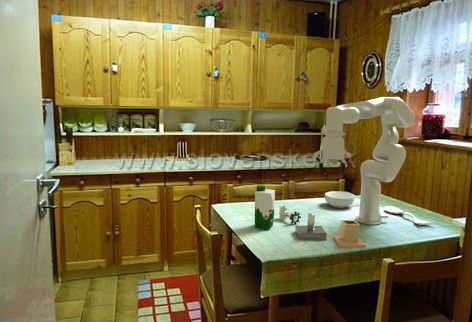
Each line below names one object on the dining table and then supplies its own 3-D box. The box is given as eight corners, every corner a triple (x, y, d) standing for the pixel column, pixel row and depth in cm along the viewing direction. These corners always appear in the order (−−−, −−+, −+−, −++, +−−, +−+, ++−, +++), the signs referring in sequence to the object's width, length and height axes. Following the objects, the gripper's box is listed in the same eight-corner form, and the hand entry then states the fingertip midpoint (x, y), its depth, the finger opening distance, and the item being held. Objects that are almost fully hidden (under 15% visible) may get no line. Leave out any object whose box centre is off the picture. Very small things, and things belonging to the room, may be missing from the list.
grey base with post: (320, 231, 178) (321, 211, 176) (326, 239, 168) (327, 217, 167) (295, 231, 178) (296, 210, 176) (299, 239, 168) (300, 217, 166)
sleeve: (353, 237, 168) (354, 220, 167) (358, 242, 162) (359, 224, 161) (340, 237, 168) (341, 220, 167) (344, 242, 162) (345, 224, 161)
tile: (356, 237, 171) (357, 235, 171) (365, 247, 160) (366, 244, 160) (332, 237, 171) (332, 235, 171) (339, 247, 160) (340, 244, 160)
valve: (275, 219, 197) (290, 225, 186) (275, 206, 196) (290, 212, 185) (285, 217, 200) (300, 223, 190) (285, 205, 199) (301, 210, 189)
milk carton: (257, 223, 189) (258, 183, 186) (275, 225, 186) (276, 185, 183) (252, 228, 181) (253, 187, 177) (270, 231, 178) (272, 189, 174)
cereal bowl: (323, 201, 233) (323, 190, 232) (351, 203, 230) (352, 191, 229) (325, 209, 216) (326, 197, 215) (355, 211, 214) (356, 198, 213)
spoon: (419, 229, 186) (420, 222, 185) (380, 210, 217) (381, 204, 216) (435, 227, 188) (436, 221, 188) (394, 209, 219) (394, 203, 218)
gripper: (349, 134, 177) (347, 170, 180) (313, 133, 176) (311, 170, 179) (355, 135, 170) (352, 173, 172) (316, 135, 169) (314, 173, 172)
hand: (331, 171), depth 176 cm, fingers open, 9 cm apart
